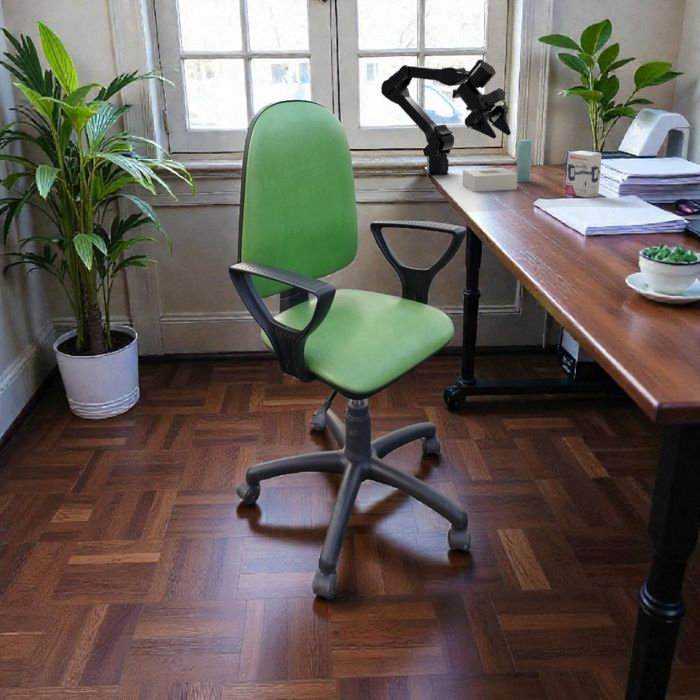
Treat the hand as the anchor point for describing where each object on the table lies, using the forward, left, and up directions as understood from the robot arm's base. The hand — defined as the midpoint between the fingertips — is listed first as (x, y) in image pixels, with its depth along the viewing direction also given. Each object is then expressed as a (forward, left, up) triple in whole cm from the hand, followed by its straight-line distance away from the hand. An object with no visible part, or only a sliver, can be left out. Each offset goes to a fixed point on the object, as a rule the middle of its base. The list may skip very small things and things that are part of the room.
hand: (502, 136), depth 239 cm
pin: (+5, -6, -13) cm, 16 cm away
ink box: (+13, -32, -14) cm, 37 cm away
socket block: (-8, -12, -13) cm, 20 cm away
